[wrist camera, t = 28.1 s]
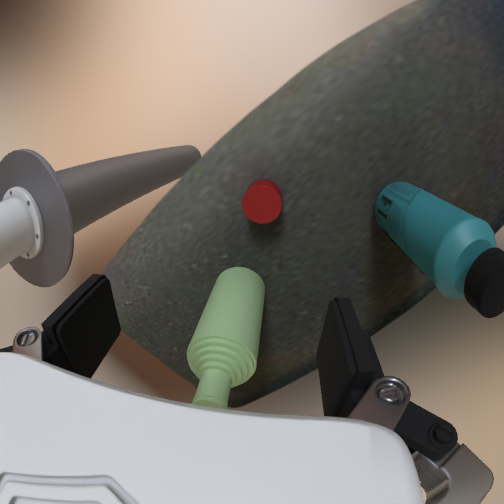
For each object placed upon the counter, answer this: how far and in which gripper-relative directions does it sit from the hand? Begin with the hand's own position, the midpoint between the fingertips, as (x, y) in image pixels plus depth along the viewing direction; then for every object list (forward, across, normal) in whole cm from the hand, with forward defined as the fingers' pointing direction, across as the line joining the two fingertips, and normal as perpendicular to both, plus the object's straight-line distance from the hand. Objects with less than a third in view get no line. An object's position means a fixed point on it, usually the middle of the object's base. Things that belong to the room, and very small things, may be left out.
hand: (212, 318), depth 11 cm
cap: (+21, -1, 0) cm, 22 cm away
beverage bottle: (+21, -16, -1) cm, 27 cm away
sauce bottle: (+22, +1, +12) cm, 25 cm away
